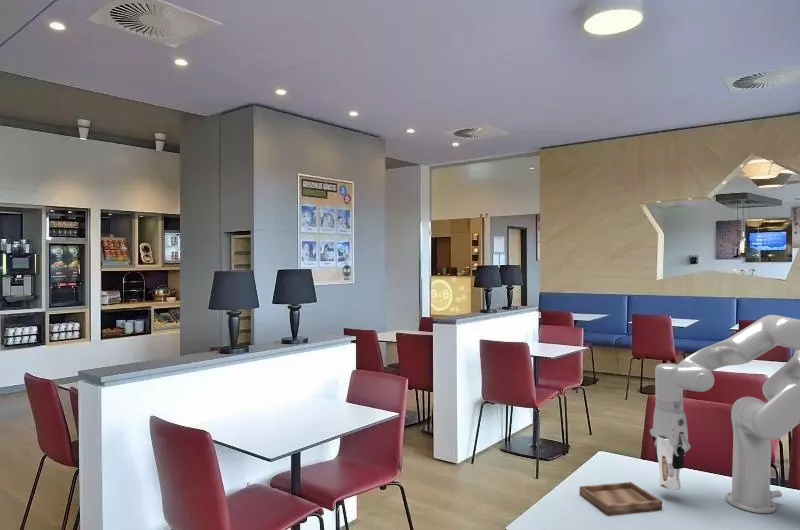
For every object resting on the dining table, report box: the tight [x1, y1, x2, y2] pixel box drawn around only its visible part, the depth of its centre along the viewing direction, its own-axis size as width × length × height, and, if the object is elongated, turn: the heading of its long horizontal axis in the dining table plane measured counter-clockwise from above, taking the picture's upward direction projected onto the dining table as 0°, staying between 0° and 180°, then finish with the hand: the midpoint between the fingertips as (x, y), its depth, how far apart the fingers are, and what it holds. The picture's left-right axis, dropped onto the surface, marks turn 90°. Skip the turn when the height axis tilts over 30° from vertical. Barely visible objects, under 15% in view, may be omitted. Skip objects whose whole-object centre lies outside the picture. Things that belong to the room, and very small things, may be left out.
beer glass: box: [657, 435, 682, 491], centre depth 167 cm, size 7×7×15 cm
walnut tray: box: [578, 481, 663, 517], centre depth 164 cm, size 18×14×2 cm
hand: (669, 463), depth 167 cm, fingers closed on beer glass, 6 cm apart
